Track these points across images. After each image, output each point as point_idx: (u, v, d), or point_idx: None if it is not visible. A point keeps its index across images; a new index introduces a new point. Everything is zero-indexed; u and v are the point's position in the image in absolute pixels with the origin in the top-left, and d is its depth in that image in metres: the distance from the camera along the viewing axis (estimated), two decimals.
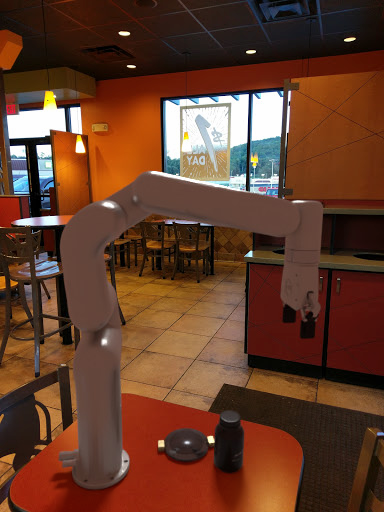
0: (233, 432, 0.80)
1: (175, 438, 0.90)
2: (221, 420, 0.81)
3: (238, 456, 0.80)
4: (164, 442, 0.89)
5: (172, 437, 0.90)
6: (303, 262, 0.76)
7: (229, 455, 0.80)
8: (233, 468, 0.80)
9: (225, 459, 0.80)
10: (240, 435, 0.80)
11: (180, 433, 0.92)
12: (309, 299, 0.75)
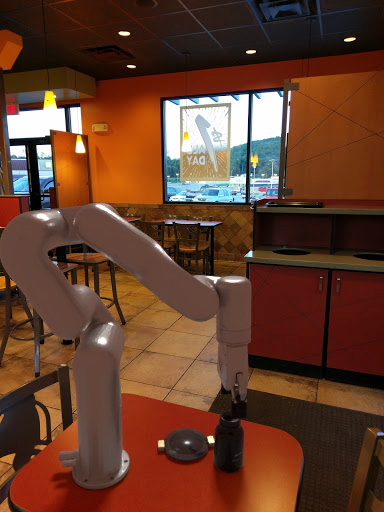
0: (233, 432, 0.80)
1: (175, 438, 0.90)
2: (221, 420, 0.81)
3: (238, 456, 0.80)
4: (164, 442, 0.89)
5: (172, 437, 0.90)
6: (231, 342, 0.75)
7: (229, 455, 0.80)
8: (233, 468, 0.80)
9: (225, 459, 0.80)
10: (240, 435, 0.80)
11: (180, 433, 0.92)
12: (237, 381, 0.74)
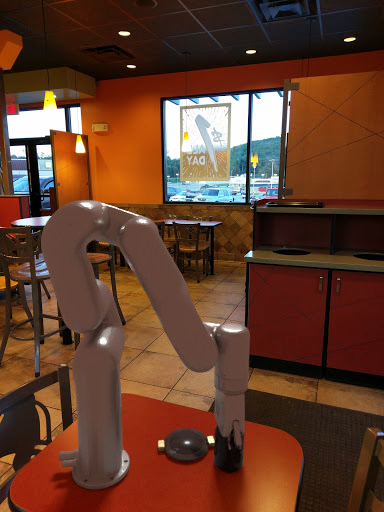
0: None
1: (175, 438, 0.90)
2: None
3: None
4: (164, 442, 0.89)
5: (172, 437, 0.90)
6: (229, 390, 0.77)
7: None
8: (233, 468, 0.80)
9: (225, 459, 0.80)
10: None
11: (180, 433, 0.92)
12: (233, 430, 0.76)
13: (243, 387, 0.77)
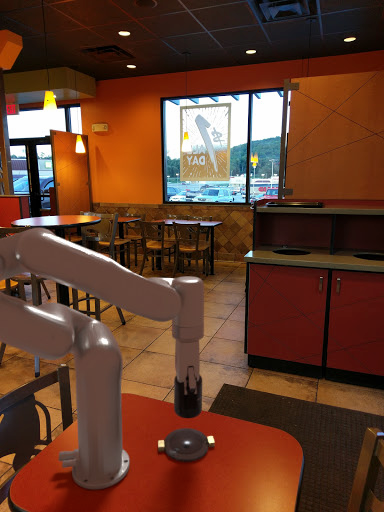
0: None
1: (175, 438, 0.90)
2: None
3: None
4: (164, 442, 0.89)
5: (172, 437, 0.90)
6: (184, 338, 0.81)
7: None
8: (191, 413, 0.84)
9: None
10: (198, 382, 0.84)
11: (180, 433, 0.92)
12: (188, 375, 0.80)
13: (198, 335, 0.81)
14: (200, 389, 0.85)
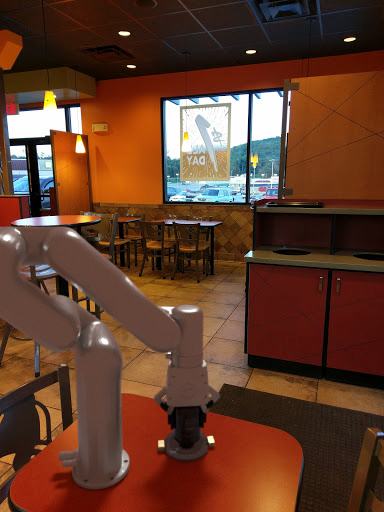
0: None
1: None
2: None
3: None
4: (164, 442, 0.89)
5: (172, 437, 0.90)
6: (202, 361, 0.85)
7: (200, 420, 0.88)
8: None
9: (199, 427, 0.87)
10: None
11: None
12: (210, 391, 0.87)
13: None
14: None
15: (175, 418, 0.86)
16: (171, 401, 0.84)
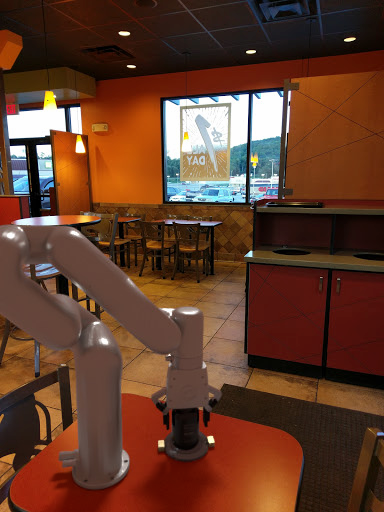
0: None
1: None
2: None
3: None
4: (164, 442, 0.89)
5: None
6: (202, 363, 0.85)
7: None
8: None
9: (198, 431, 0.87)
10: None
11: None
12: (211, 390, 0.87)
13: None
14: None
15: (174, 423, 0.86)
16: (171, 403, 0.84)
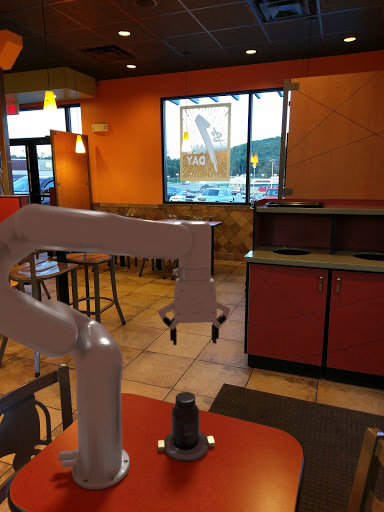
0: (195, 405, 0.88)
1: None
2: (189, 403, 0.85)
3: None
4: (164, 442, 0.89)
5: None
6: (210, 277, 0.84)
7: None
8: None
9: (198, 431, 0.87)
10: None
11: None
12: (219, 306, 0.86)
13: None
14: None
15: (174, 423, 0.86)
16: (179, 316, 0.83)
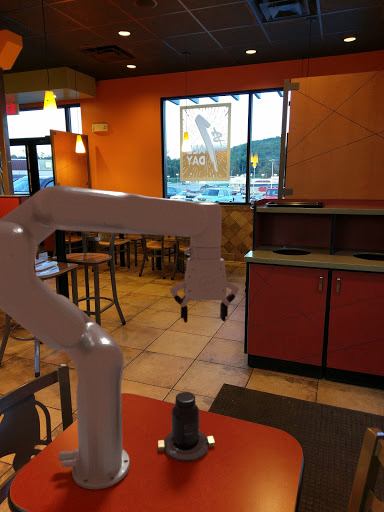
0: (195, 405, 0.88)
1: None
2: (189, 403, 0.85)
3: None
4: (164, 442, 0.89)
5: None
6: (220, 256, 0.87)
7: None
8: None
9: (198, 431, 0.87)
10: None
11: None
12: (228, 285, 0.90)
13: None
14: None
15: (174, 423, 0.86)
16: (190, 294, 0.86)
